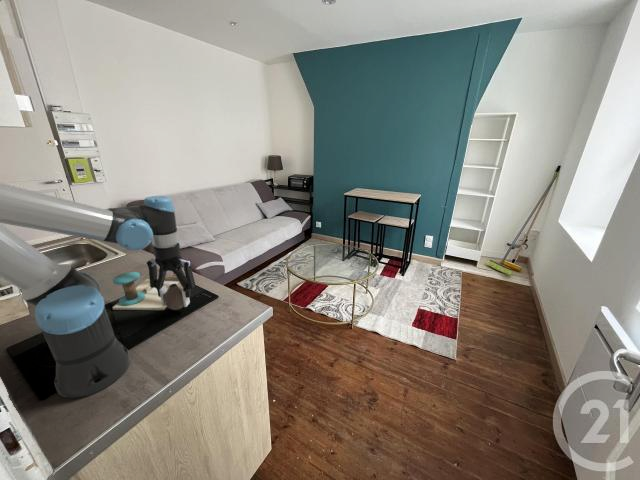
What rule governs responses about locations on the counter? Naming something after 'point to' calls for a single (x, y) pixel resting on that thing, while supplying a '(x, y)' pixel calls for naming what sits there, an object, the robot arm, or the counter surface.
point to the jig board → (140, 292)
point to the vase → (174, 297)
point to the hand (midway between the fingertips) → (176, 304)
